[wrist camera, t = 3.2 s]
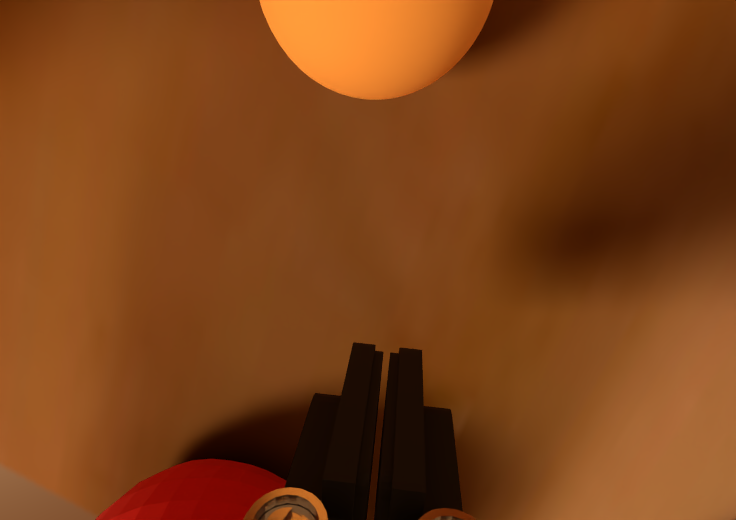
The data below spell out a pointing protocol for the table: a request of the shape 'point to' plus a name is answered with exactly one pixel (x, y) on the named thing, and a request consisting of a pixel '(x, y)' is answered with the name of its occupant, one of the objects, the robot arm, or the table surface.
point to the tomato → (196, 492)
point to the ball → (376, 41)
